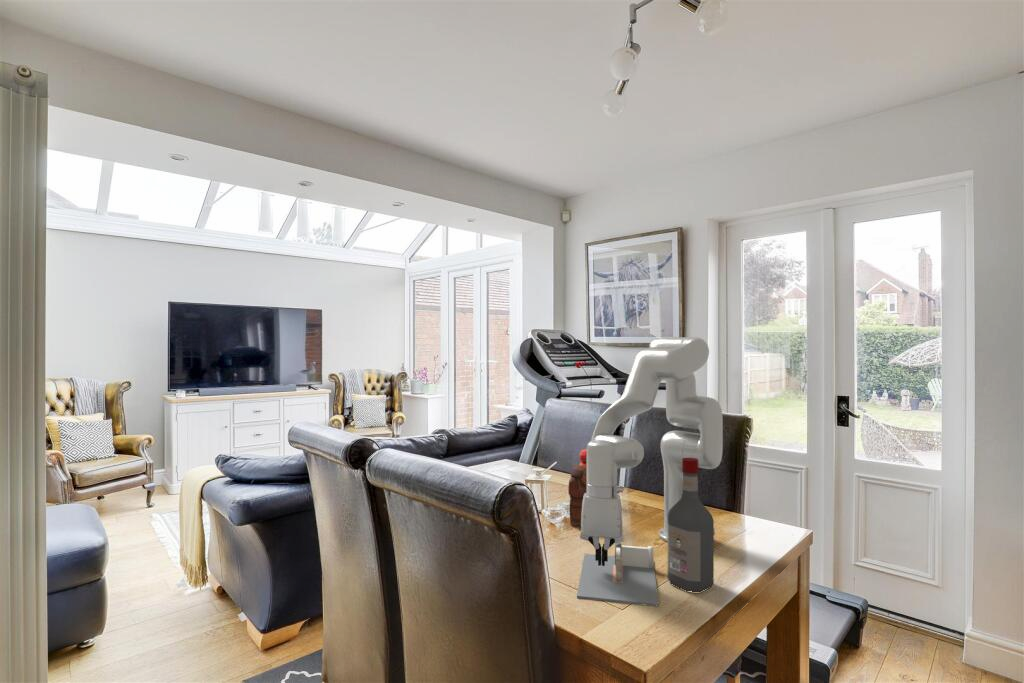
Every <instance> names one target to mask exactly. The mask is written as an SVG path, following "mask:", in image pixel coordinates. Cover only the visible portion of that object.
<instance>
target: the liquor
mask: <svg viewBox="0 0 1024 683" xmlns="http://www.w3.org/2000/svg"><path fill="white" fill-rule="evenodd" d="M682 471H683V493H682V495H681V496H682V498H681V499H680V500H679V501H678V502H677V503H676V504H675V505H674V506H673V507H672V508H671V509H670V510H669V512H668V542H667V578H668V581H669V583H670V585H671V584H673V585H675V586H674V587H676V586H677V587H676V588H678V587H679V588H678V589H680V588H682V589H684V590H686V591H685V592H687V591H692V592H701V591H703V590H705V589H707V588H709V587H711V588H712V587H713V586H714V574H715V573H714V572H715V571H714V570H715V567H714V565H715V564H714V563H715V562H714V561H715V559H714V555H715V554H714V550H715V549H714V547H715V546H714V544H715V543H714V542H715V541H714V538H715V537H714V536H715V535H714V529H715V528H714V527H715V526H714V525H715V524H714V521H715V520H714V519H713V515H712V513H711V512H710V511H709V510H708V509H707V507H706V506H705V505H704V504H703V502H702V501H701V500H700V496H699V488H698V487H699V479H698V478H699V467H698V459H696V458H683V459H682ZM673 585H672V586H673ZM682 589H681V590H682ZM709 589H710V588H709ZM684 590H683V591H684ZM707 590H708V589H707ZM705 591H706V590H705ZM703 592H704V591H703ZM701 593H702V592H701Z"/></svg>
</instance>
